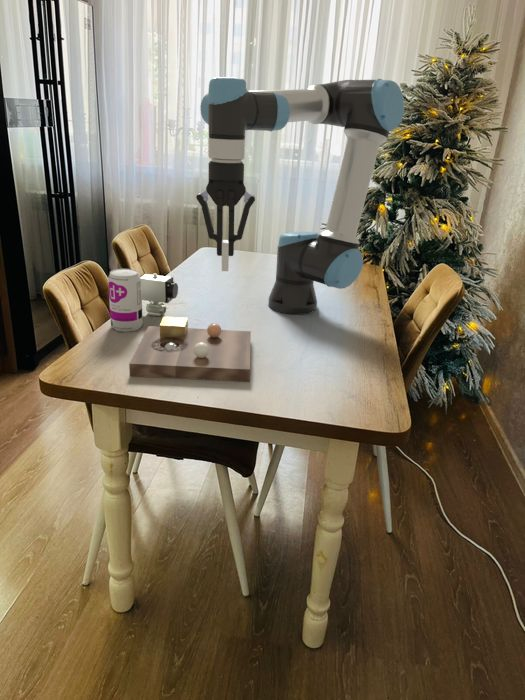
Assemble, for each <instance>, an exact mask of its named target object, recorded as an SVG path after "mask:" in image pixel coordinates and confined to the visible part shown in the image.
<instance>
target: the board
mask: <svg viewBox="0 0 525 700" xmlns="http://www.w3.org/2000/svg"><path fill="white" fill-rule="evenodd" d="M144 332H145V333H144V334H143V336H142V338H141V340H140V342H139V344H138V346H137V348H136V349H135V352H134V354H133V356H132V357H131V359H130V361H129V362H128V363H129V365H128V367H129V377H144V378H163V379H164V378H165V379H183V380H184V379H185V380H186V379H187V380H204V381H222V382H223V381H225V382H226V381H227V382H243V383H244V382H245V383H246V382H248V383H250V376H251V375H250V374H251V341H252V339H251V338H252V337H251V336H252V335H251V332H252V331H249V330H235V329H234V330H231V329H221V334H220V335H219V336H218V337H216V338H213V337H210V336H209V335H208V333H207V328H194V327H193V328H192V327H190V328H189V327H188V330H187V333H186V336H185V338H174V337H160V326H154V325H153V326H151V325H149V326H147V329H146V331H144ZM200 342H203V343H206V344H207V345H208V347H209V354H208V355H207V356H206V357H204V358H199V357H197V356H196V355H195V354H194V346H195V345H196V344H197V343H200ZM167 343H175V344H176V345H177V346H178V347H177V348H173V349H165V348H164V346H165V345H166V344H167Z"/></svg>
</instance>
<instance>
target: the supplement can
mask: <svg viewBox="0 0 525 700" xmlns="http://www.w3.org/2000/svg"><path fill="white" fill-rule="evenodd" d="M140 276H141V275H140V273H139V271H138V270H137V269H132V268H118V269H113V270H111V271H110V272H109V274H108V276H107V284H108V285H107V286H108V287H107V288H108V299H109V300H108V301H109V315H110V327H112V328H113V330H115V331H117V332H121V331H122V332H123V333H130V331H131V332H135V331H139V330H140V328H142V326H143V325H144V323H143V320H144V319H143V300H142V292H141V277H140Z"/></svg>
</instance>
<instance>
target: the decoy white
mask: <svg viewBox="0 0 525 700" xmlns="http://www.w3.org/2000/svg"><path fill="white" fill-rule="evenodd" d="M194 354H195V355H196V356H197V357H199V358H204V357H206V356H207V355H208V354H209V347H208V345H207V344H206V343H203V342H200V343H197V344H196V345H195V346H194Z"/></svg>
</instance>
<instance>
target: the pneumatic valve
mask: <svg viewBox="0 0 525 700" xmlns="http://www.w3.org/2000/svg"><path fill="white" fill-rule="evenodd" d="M140 277H141V292H142V301H149V303H147V304H146V306H145V309H146V312H147V315H148V316H151V317H152V316H153V317H158V318H159V317H162V315H165V314H166V312H167V306H166V305H165V304H169V303H170V302H171V301H173V299H176V298H177V296H178V293H179V286H178V283H176V282H175V280H174V276H164V275H158V274H157V273H153V274H149V273H148V274H147V273H143V274H141V275H140Z"/></svg>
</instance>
